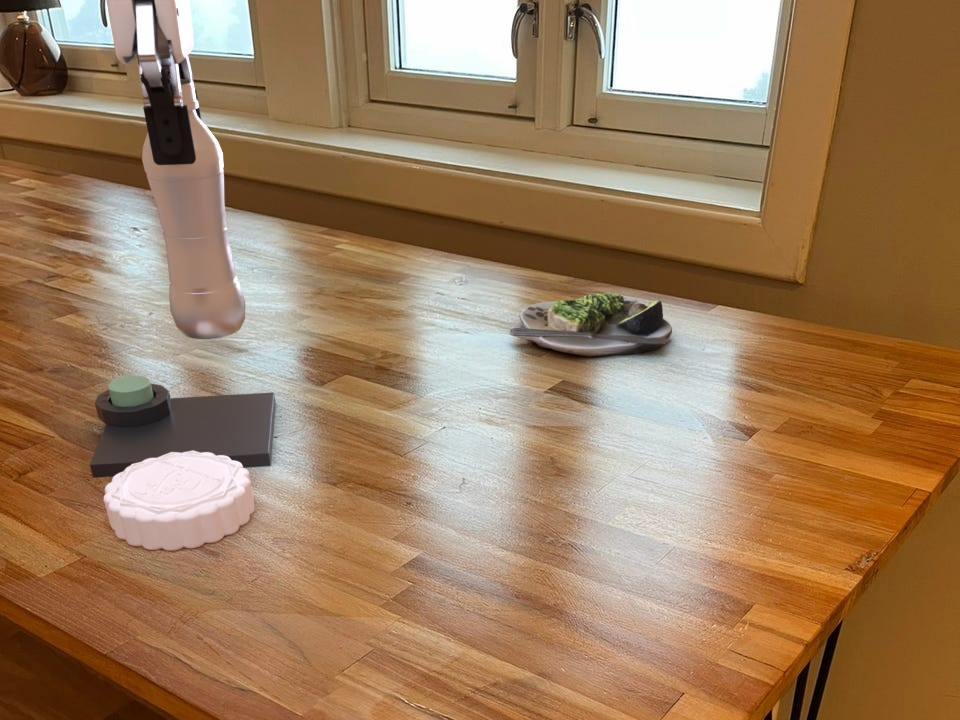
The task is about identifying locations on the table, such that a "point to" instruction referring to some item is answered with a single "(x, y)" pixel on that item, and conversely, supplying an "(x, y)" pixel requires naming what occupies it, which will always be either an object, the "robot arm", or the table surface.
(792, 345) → the table surface
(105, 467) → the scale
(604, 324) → the salad plate
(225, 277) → the plastic bottle
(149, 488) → the mooncake
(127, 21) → the robot arm
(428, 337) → the table surface
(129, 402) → the button
